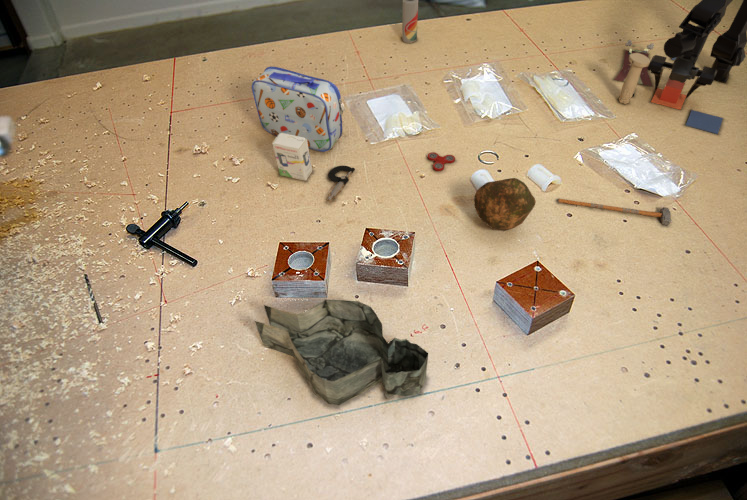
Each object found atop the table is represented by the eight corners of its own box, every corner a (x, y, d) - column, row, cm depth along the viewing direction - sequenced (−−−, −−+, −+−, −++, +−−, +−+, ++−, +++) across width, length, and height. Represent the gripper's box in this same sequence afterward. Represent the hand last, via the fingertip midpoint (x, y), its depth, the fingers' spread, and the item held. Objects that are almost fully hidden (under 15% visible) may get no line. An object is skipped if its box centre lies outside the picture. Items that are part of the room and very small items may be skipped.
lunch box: (352, 139, 160) (347, 74, 144) (336, 159, 154) (329, 93, 137) (276, 119, 168) (263, 55, 152) (258, 137, 162) (243, 72, 146)
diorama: (654, 49, 191) (659, 36, 188) (650, 99, 170) (656, 86, 166) (619, 44, 194) (623, 32, 191) (611, 93, 173) (616, 80, 169)
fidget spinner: (426, 155, 154) (426, 152, 153) (449, 151, 155) (450, 147, 154) (434, 172, 149) (435, 169, 148) (459, 168, 150) (459, 164, 149)
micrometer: (335, 165, 152) (335, 158, 150) (357, 171, 150) (357, 164, 148) (309, 197, 143) (308, 190, 141) (332, 204, 141) (331, 197, 139)
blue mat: (691, 110, 165) (691, 109, 165) (722, 119, 162) (722, 118, 161) (685, 125, 160) (685, 124, 160) (717, 134, 157) (718, 133, 156)
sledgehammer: (558, 196, 141) (557, 209, 138) (559, 191, 140) (559, 204, 137) (667, 212, 135) (669, 225, 132) (670, 207, 134) (672, 220, 131)
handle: (623, 95, 172) (639, 51, 161) (636, 105, 168) (653, 61, 157) (611, 98, 171) (626, 54, 160) (623, 108, 167) (640, 64, 156)
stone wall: (434, 348, 111) (437, 322, 103) (409, 430, 99) (411, 407, 92) (285, 307, 119) (278, 279, 112) (246, 377, 107) (235, 352, 100)
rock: (465, 216, 137) (472, 172, 125) (507, 201, 140) (517, 157, 129) (492, 249, 129) (502, 205, 118) (535, 233, 132) (548, 188, 121)
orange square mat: (657, 88, 174) (657, 87, 173) (686, 96, 170) (686, 95, 170) (650, 102, 169) (651, 100, 169) (680, 109, 165) (680, 108, 165)
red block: (662, 92, 172) (668, 78, 168) (678, 96, 170) (685, 82, 166) (659, 99, 169) (665, 85, 165) (675, 103, 167) (682, 89, 163)
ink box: (313, 170, 151) (308, 137, 142) (305, 182, 147) (299, 148, 139) (286, 165, 153) (279, 131, 144) (278, 176, 150) (271, 142, 141)
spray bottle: (417, 43, 199) (419, -12, 184) (402, 43, 199) (402, -11, 185) (416, 35, 203) (418, -18, 188) (401, 36, 203) (402, -18, 188)
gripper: (652, 51, 156) (634, 98, 167) (721, 67, 149) (697, 114, 160) (661, 36, 162) (643, 81, 173) (727, 50, 155) (703, 97, 166)
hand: (670, 93), depth 168 cm, fingers open, 9 cm apart
